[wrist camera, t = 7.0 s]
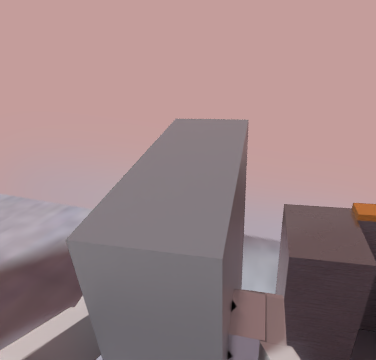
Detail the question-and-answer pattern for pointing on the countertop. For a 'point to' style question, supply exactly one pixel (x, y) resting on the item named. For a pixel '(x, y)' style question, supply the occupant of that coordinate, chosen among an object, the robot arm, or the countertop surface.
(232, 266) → the grey block
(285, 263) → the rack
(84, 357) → the robot arm
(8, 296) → the countertop surface
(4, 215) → the countertop surface
